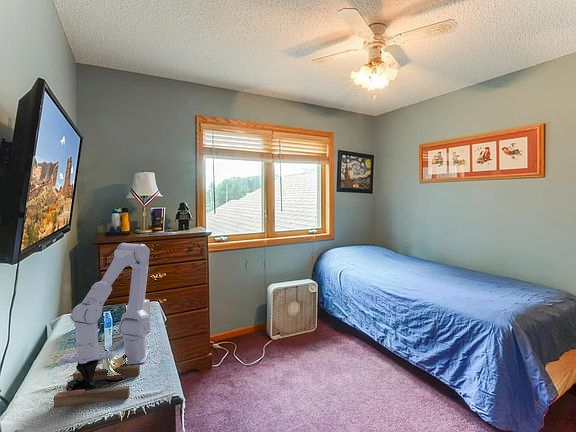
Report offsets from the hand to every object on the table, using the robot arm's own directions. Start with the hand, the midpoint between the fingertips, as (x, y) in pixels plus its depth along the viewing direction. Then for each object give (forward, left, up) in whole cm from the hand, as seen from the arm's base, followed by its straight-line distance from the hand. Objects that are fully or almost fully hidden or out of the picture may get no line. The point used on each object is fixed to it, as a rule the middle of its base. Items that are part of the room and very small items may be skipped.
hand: (89, 382), depth 98 cm
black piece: (+1, -3, -3) cm, 5 cm away
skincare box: (-39, +5, -3) cm, 39 cm away
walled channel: (0, +3, -2) cm, 4 cm away
